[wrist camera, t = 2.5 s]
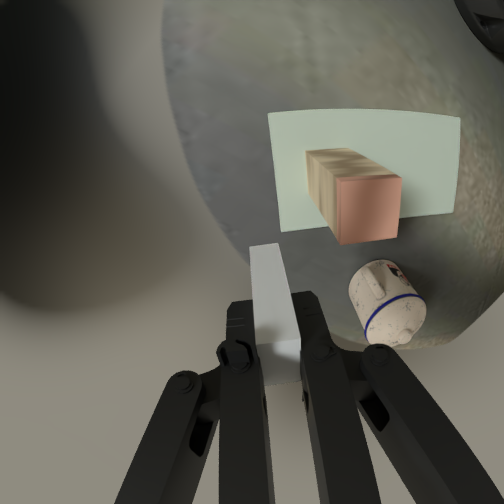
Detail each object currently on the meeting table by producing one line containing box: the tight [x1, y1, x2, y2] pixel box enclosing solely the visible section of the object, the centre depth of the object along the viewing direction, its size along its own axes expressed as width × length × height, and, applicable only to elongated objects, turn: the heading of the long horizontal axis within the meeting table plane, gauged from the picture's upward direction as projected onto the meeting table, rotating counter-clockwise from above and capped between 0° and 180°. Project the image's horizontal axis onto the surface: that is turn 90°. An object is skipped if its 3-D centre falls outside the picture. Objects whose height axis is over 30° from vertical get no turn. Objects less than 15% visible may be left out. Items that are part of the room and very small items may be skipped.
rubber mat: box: [267, 109, 460, 232], centre depth 29 cm, size 26×14×1 cm, turn 98°
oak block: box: [305, 148, 402, 245], centre depth 24 cm, size 5×5×12 cm
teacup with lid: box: [349, 260, 426, 347], centre depth 33 cm, size 12×9×12 cm
